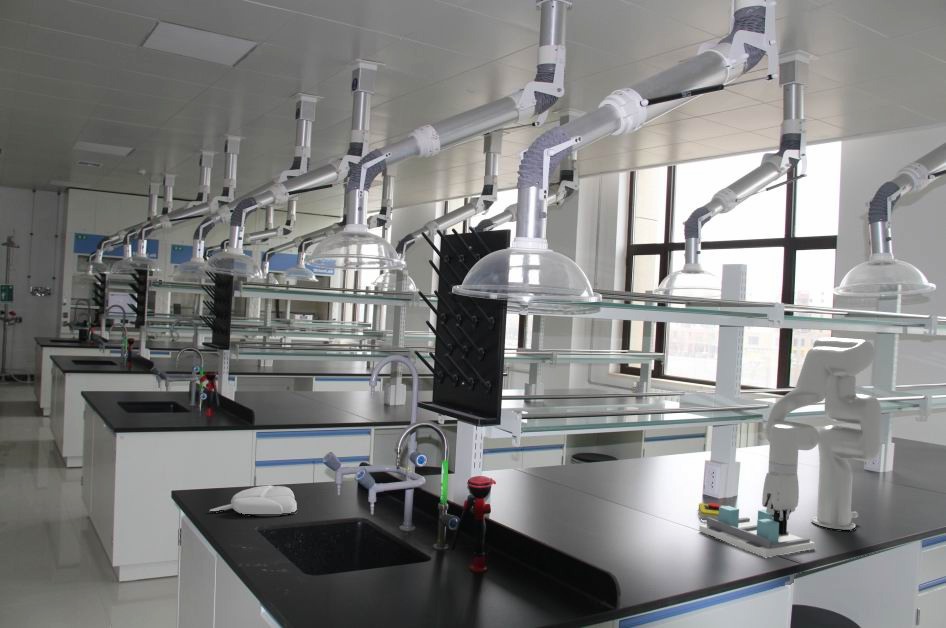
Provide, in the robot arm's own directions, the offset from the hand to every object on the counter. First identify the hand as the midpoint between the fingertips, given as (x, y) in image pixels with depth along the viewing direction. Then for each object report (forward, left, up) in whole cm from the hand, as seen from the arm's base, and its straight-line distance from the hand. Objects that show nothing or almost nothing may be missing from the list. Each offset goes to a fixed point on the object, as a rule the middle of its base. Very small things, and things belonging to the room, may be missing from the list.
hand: (779, 533), depth 204 cm
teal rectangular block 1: (+5, -14, -2) cm, 15 cm away
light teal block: (-4, -7, -2) cm, 8 cm away
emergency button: (-5, -29, -5) cm, 30 cm away
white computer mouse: (+129, -84, -5) cm, 154 cm away
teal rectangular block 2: (+5, 0, -2) cm, 5 cm away
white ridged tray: (+1, -7, -4) cm, 8 cm away
